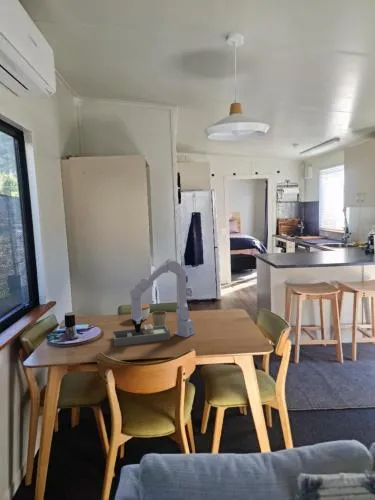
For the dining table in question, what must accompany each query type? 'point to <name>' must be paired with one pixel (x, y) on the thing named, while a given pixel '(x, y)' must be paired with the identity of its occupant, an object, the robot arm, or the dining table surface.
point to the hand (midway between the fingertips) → (137, 332)
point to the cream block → (148, 329)
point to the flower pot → (158, 318)
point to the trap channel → (132, 337)
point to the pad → (159, 330)
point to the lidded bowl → (144, 310)
